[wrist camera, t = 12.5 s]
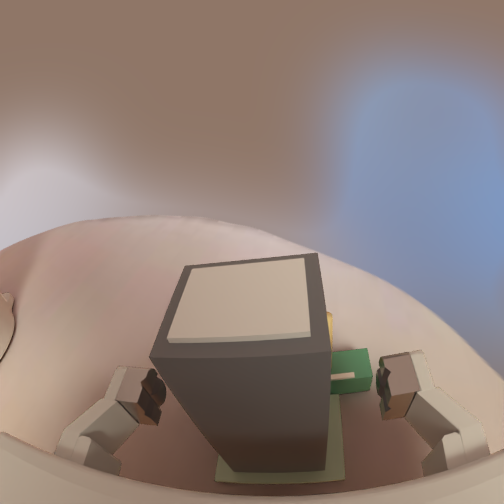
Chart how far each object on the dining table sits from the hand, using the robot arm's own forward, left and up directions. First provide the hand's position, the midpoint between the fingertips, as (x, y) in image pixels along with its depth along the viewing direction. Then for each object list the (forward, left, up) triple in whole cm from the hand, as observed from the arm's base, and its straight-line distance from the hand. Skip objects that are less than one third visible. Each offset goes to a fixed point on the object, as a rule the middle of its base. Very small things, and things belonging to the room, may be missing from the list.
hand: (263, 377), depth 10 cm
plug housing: (0, 0, -6) cm, 7 cm away
